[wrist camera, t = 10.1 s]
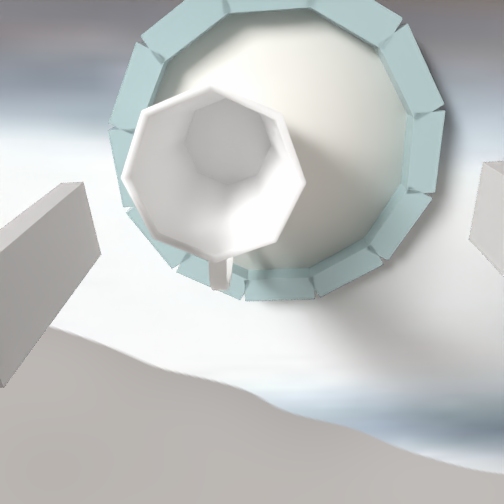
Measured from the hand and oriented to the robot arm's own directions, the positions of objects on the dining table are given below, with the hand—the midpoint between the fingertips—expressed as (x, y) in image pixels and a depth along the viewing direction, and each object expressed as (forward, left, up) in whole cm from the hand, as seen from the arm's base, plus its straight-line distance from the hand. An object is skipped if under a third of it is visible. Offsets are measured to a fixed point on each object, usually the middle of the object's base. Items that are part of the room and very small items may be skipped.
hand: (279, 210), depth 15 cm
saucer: (0, 0, -11) cm, 11 cm away
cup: (+2, -2, -10) cm, 11 cm away
